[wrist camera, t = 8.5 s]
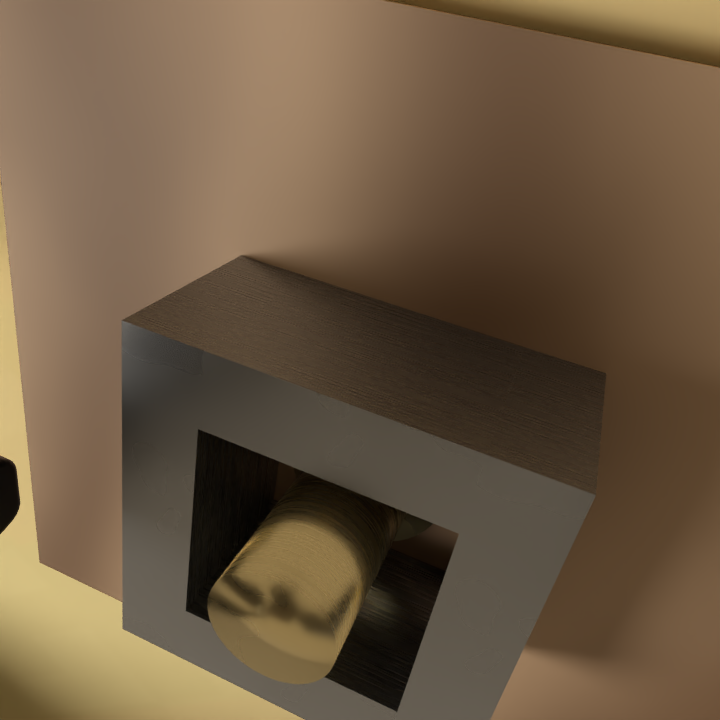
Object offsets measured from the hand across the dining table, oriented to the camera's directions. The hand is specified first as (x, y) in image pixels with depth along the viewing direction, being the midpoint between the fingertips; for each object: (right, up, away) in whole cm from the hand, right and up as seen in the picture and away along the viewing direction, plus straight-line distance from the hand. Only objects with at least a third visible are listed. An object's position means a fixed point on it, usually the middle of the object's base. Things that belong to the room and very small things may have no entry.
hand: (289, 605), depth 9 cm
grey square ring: (+1, +1, +3) cm, 4 cm away
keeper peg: (+1, +1, +3) cm, 4 cm away
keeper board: (+2, +2, +4) cm, 5 cm away
